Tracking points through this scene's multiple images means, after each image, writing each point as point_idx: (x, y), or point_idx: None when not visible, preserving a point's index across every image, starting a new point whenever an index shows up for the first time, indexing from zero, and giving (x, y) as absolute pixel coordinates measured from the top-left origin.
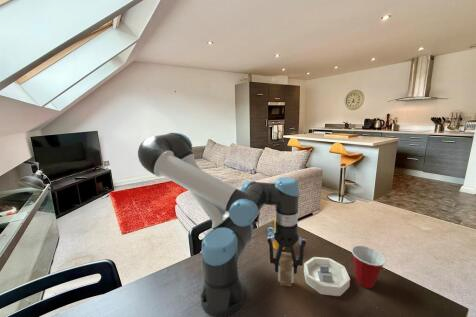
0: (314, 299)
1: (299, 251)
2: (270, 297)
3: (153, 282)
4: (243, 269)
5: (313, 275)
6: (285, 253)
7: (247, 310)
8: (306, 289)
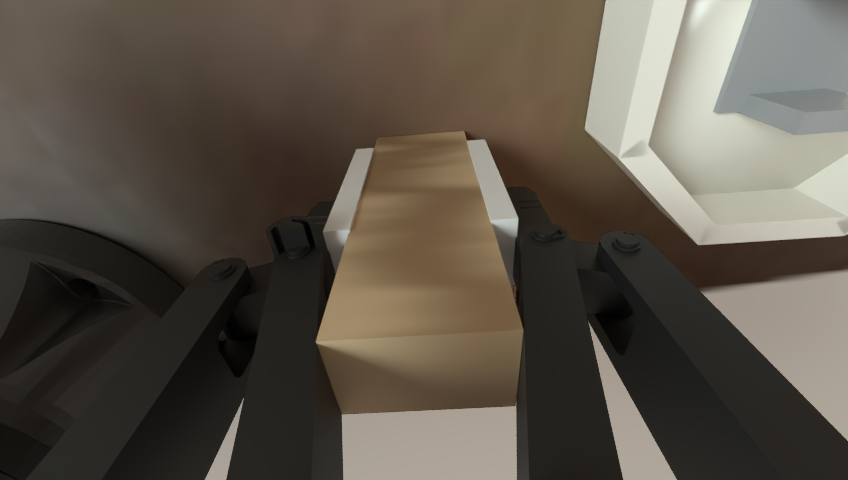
0: None
1: (703, 472)
2: None
3: None
4: (19, 73)
5: (689, 44)
6: (414, 351)
7: None
8: (569, 186)
